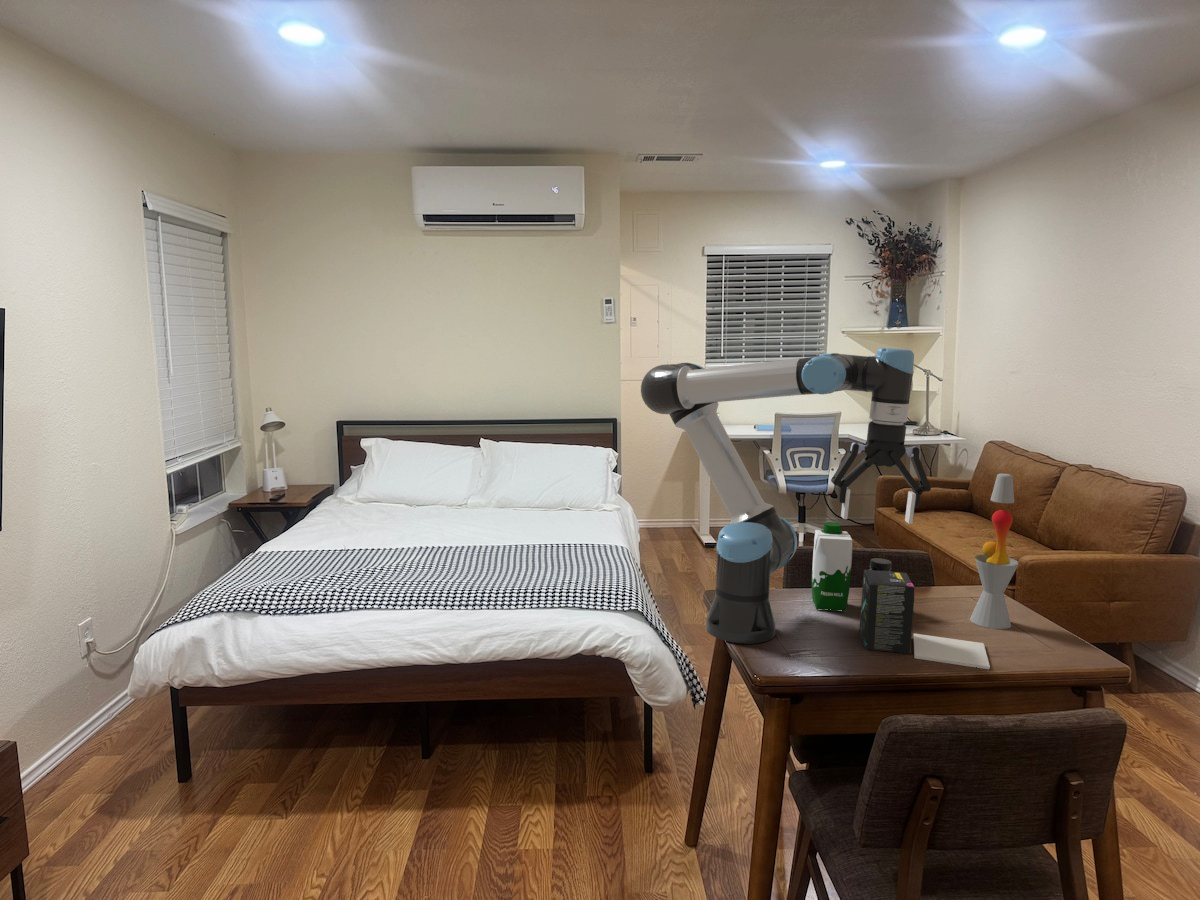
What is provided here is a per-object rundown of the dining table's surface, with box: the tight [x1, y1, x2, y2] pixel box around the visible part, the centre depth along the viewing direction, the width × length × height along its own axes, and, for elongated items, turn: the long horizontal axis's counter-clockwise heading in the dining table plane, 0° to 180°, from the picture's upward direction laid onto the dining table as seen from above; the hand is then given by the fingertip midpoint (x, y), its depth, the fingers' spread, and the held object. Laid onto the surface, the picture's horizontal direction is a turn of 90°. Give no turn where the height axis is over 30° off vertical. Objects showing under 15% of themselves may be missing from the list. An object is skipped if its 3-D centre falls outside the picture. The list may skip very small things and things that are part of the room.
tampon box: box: [858, 568, 916, 654], centre depth 169 cm, size 11×9×15 cm
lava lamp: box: [969, 473, 1019, 630], centre depth 181 cm, size 9×9×35 cm
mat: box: [912, 633, 991, 670], centre depth 166 cm, size 14×13×1 cm
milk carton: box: [811, 521, 853, 612], centre depth 191 cm, size 9×9×20 cm
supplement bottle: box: [868, 557, 892, 572], centre depth 191 cm, size 7×7×12 cm
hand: (876, 520), depth 170 cm, fingers open, 13 cm apart
